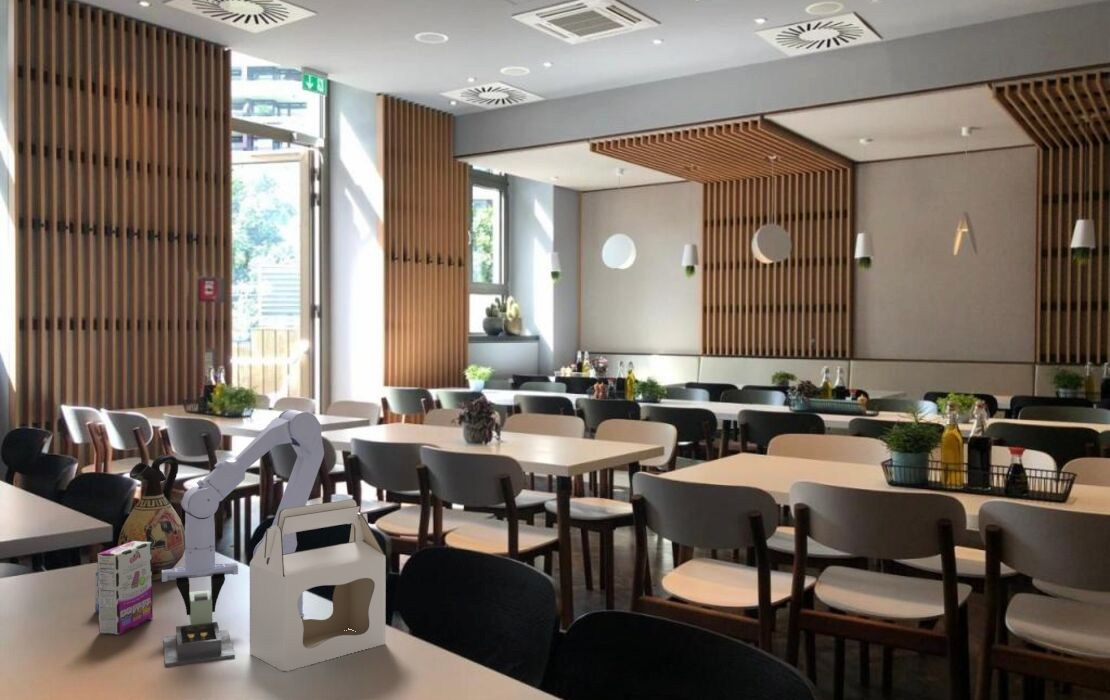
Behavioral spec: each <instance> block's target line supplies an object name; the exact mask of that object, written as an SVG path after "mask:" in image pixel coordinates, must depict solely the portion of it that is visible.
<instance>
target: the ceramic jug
mask: <svg viewBox="0 0 1110 700" xmlns="http://www.w3.org/2000/svg"><path fill="white" fill-rule="evenodd" d="M151 463H152V464H151V465H149V464H146V463H144V462H139V463H137V464H135V465H134V466H132V468H131V470H130V472H129V474H128V475H129V478H130V479H133V480H136V481H139V482H142V483H144V484H145V485H146V487H145V490H144V493H143V495H142V496H141V498H140V499H139V500H138V501H137V503H136V504H135V505H134V506H133V508H132V510H131V511H130V513H129V515H128V516H127V518H126V519H125V521H124V524H123V525H122V528H121V531H120V532H119V537H118V540H117V541H118V542H117V547H118V546H120V545H123V544H126V543H129V542H131V541H143V542H151V564H152V580H153V581H156V580H162V570H168V569H174V568H176V565H177V564H178V563H179V562H180V560H181V559H183V556H184V555H185V527H184V525H183V523H182V520H181V518H180V516H179V515H178V513H177V512H176V510H175V509H174V507H173V505H172V501H171V500H172V499H171V498H172V491H173V489H174V484H175V482H176V479H177V475H178V473H179V462H178V459H177V458H176V457H175V456H174V455H172V454H161V455H159V456H156V458H155V459H153V461H152V462H151ZM162 464H169V467H170V468H169V471H168V474H167V477H166V476H165V473H163V471H162V470H161V469H160V468H161V466H162ZM164 481H166V482H165V484H164V487H163V489H162V486H161V483H162V482H164Z"/></svg>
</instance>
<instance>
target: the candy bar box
mask: <svg viewBox="0 0 1110 700" xmlns="http://www.w3.org/2000/svg"><path fill="white" fill-rule="evenodd" d="M96 561H97V572H98V602H99V612H98V633H99V634H102V635H113V634H114V635H117V636H120V635H122V634H123V633H125V632H128V631H130V630H132V629H134V628H137V626H140V625H142V624H143V623H146V622H147V621H150V620H151V619H153V618H154V615H153V614H154V613H153V581H152V564H151V542H143V541H131V542H129V543H126V544H123V545H120V546H118V545H117V546H115V547H112V548H110V549H107V550H104V551H102V552H98V553H97V559H96Z"/></svg>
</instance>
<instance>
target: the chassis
mask: <svg viewBox="0 0 1110 700" xmlns="http://www.w3.org/2000/svg"><path fill="white" fill-rule="evenodd" d="M163 652H164V655H163V656H164V667H165V668H167V667H174V666H181V665H188V664H196V663H197V664H199V663H205V662H206V663H207V662H213V661H220V660H228V659H235V658H236V654H235V650H234V647H233V643H232V640H231V635H230V631H229V628H228V629H227V628H225V629H220V628H219V624H218V621H214V622H213V621H212V623H203V624H194V625H191V624H184V625H177V626H175V635H167V636H166V635H165V636H163Z"/></svg>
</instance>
